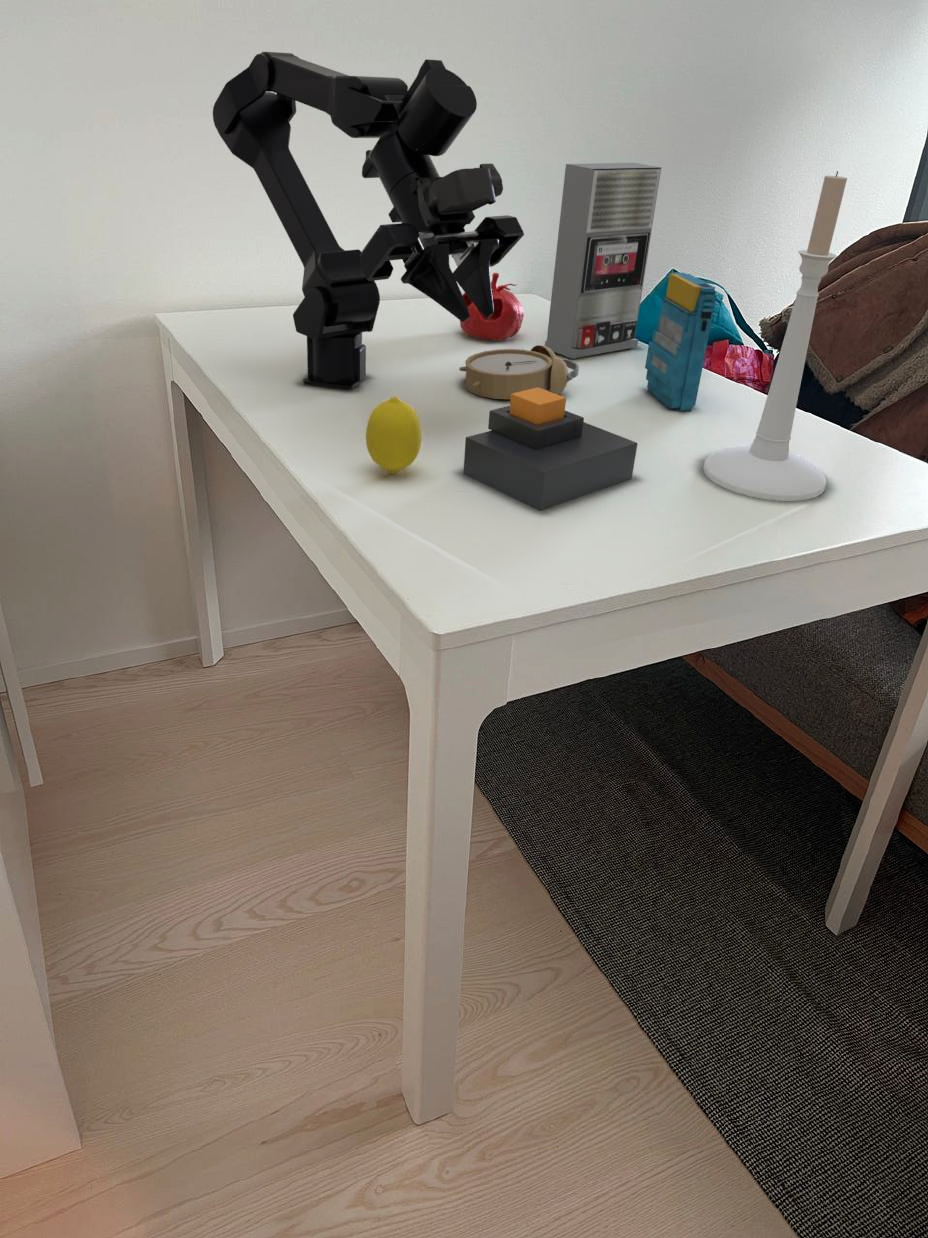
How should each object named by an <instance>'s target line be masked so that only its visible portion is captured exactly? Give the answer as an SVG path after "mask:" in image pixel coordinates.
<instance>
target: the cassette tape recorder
mask: <svg viewBox="0 0 928 1238" xmlns="http://www.w3.org/2000/svg"><path fill="white" fill-rule="evenodd" d="M661 173H662V167H660V166H654V165H649V164H643V163H637V162H605V163H602V162H598V163H597V162H595V163H565V170H564V176H563V177H564V178H563V187H562V195H561V196H562V197H561V206H560V216H559V224H558V233H557V234H558V235H557V243H556V251H555V260H554V269H553V278H552V279H553V280H552V288H551V297H550V307H549V317H548V325H547V333H546V334H547V335H546V340H544V346H547V347H549V348H550V349H551V350H552V351H553V352H554V353H556V354H560V355H562V356H564V357H567V358H569V360H576V359H577V358H583V357H588V356H594V355H599V354H604V353H611V352H616V351H621V350H622V351H623V350H627V349H632V350H633V349H635V348H637V347H638V345H639V339H638V338H636V332H637V328H638V327H637V326H638V320H639V314H640V307H641V301H642V294H643V288H644V281H645V275H646V269H647V263H648V256H649V248H650V244H651V238H652V237H651V236H652V229H653V226H654V225H653V223H654V217H655V212H656V205H657V200H658V194H659V193H658V192H659V187H660V179H661Z"/></svg>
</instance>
